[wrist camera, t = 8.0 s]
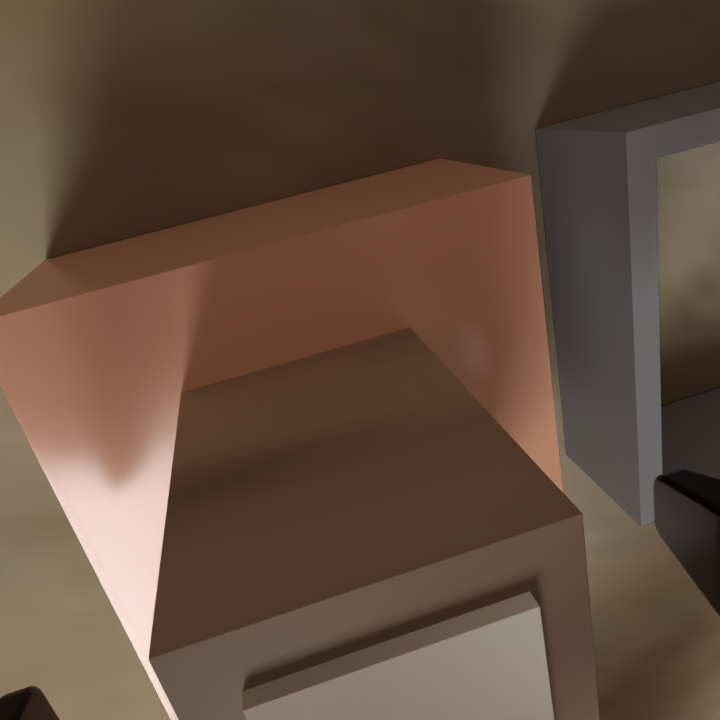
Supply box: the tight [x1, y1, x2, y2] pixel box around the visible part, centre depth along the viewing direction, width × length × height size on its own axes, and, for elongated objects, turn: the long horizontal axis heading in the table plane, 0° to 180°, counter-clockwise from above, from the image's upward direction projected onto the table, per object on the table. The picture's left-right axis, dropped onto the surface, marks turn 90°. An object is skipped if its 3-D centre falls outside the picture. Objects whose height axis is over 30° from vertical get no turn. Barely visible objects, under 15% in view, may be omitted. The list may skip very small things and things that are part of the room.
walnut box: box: [148, 327, 600, 720], centre depth 9 cm, size 5×4×6 cm
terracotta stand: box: [0, 158, 563, 720], centre depth 13 cm, size 9×9×4 cm
